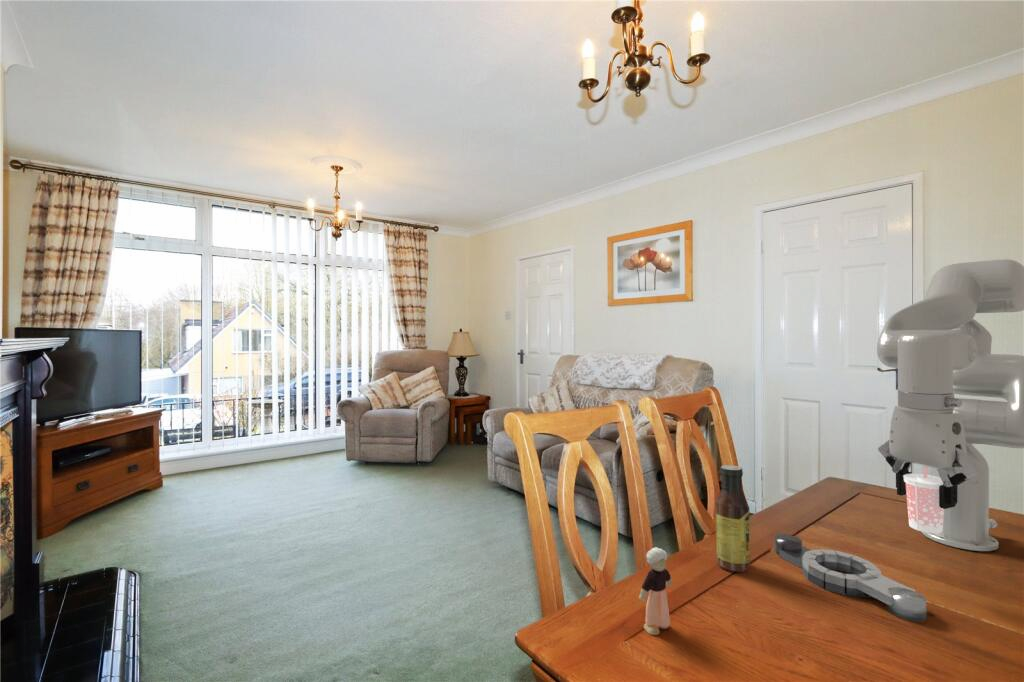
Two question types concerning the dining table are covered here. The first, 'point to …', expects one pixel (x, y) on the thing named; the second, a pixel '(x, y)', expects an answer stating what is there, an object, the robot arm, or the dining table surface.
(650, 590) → the grandmother figurine
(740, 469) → the sauce bottle
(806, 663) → the dining table surface
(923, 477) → the beverage cup
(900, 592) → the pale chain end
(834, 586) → the dark grey ring piece
